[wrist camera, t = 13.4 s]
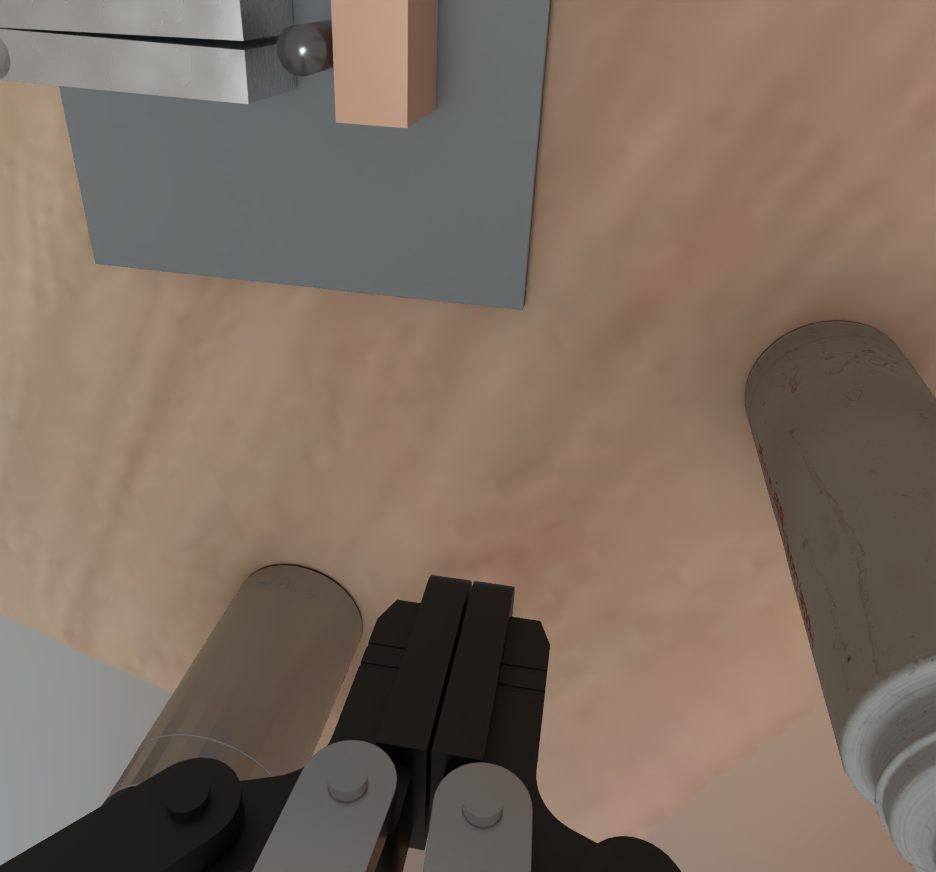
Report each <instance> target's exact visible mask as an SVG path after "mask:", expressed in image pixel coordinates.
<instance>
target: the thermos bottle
mask: <svg viewBox="0 0 936 872" xmlns="http://www.w3.org/2000/svg"><path fill="white" fill-rule="evenodd" d="M745 408H746V412H747V416H748V420H749V423H750V427H751V431H752V434H753V438H754V442H755V445H756V449H757V453H758V456H759V460H760V464H761V467H762V471H763V475H764V478H765V482H766V486H767V489H768V493H769V497H770V500H771V504H772V508H773V511H774V514H775V518H776V521H777V524H778V527H779V531H780V534H781V538H782V541H783V545H784V549H785V553H786V557H787V561H788V565H789V569H790V573H791V577H792V581H793V585H794V588H795V592H796V596H797V599H798V603H799V607H800V610H801V614H802V618H803V621H804V625H805V629H806V632H807V636H808V640H809V643H810V647H811V651H812V654H813V658H814V662H815V665H816V669H817V673H818V676H819V680H820V684H821V687H822V691H823V695H824V698H825V702H826V706H827V709H828V712H829V716H830V720H831V724H832V728H833V731H834V734H835V739H836V742H837V746H838V749H839V753H840V757H841V760H842V764H843V767H844V771H845V773H846V774H847V776H848V778H849V779H850V781H851V783H852V784H853V786H854V788H855V789H856V791H857V792H858V793H859V794H860V795H861V796H863V798H864V799H865V800H866V801H867V802H868V803H870V804H871V805H872V806H873V807H875V808H876V809H877V814H878V817H879V819H880V820H881V822H882V824H883V825H884V827H885V828H886V830H887V832H888V833H889V834H890V836H891V838H892V841H893V843H894V844H895V846H896V848H897V849H898V851H899V853H900V855H901V856H902V857H903V858H904V859H905V860H906V861H907V862H908V863H909V864H910V865H911V866H912V867H913V868H914V869H915V870H916V871H918V872H936V398H935V397H934V395H933V394H932V393H931V391H930V390H929V388H928V387H927V386H926V384H925V383H924V382H923V380H922V379H921V378H920V376H919V375H918V373H917V372H916V371H915V369H914V368H913V367H912V365H911V364H910V363H909V361H908V360H907V358H906V357H905V356H904V354H903V353H902V352H901V350H900V349H899V348H898V347H897V345H896V344H895V343H894V342H893V341H892V340H891V339H889V338H888V337H887V336H886V335H884V334H883V333H881V332H879V331H877V330H875V329H873V328H871V327H869V326H866V325H862V324H858V323H855V322H845V321H830V322H820V323H816V324H812V325H808V326H804V327H802V328H799V329H797V330H795V331H793V332H791V333H788V334H787V335H785V336H784V337H782V338H781V339H779V340H778V341H776V342H775V343H773V344H772V345H771V346H770V347H769V348H768V349H767V350H766V351H765V352H764V353H763V354H762V355H761V357H760V358H759V359H758V361H757V362H756V364H755V365H754V366H753V369H752V371H751V373H750V375H749V377H748V380H747V385H746V389H745Z"/></svg>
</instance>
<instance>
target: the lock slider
mask: <svg viewBox="0 0 936 872" xmlns="http://www.w3.org/2000/svg"><path fill="white" fill-rule="evenodd" d="M331 13H332V39H333V65H334V90H335V116H336V123H348V124H360V125H373V126H385V127H397V128H408V127H410V126H411V125H413V124H414V123H416V122H417V121H419V120H420V119H422V118H423V117H425V116H426V115H428V114H429V113H431V112H432V111H434V110H435V109H436V79H437V36H438V0H331Z"/></svg>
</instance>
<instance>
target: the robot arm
mask: <svg viewBox="0 0 936 872" xmlns="http://www.w3.org/2000/svg"><path fill="white" fill-rule="evenodd" d="M514 592H515V587H512V586H505V585H499V584H492V583H485V582H478V581H474V583H473V586H472V582H471V581H470V580H463V579H456V578H449V577H442V576H435V575H431V576H430V577H429V580H428V583H427V586H426V589H425V592H424V595H423V598H422V601H421V603H415V602H408V601H402V600H396V601H395V602H394V603H393V604H392V605H391V606H390V607H389V608H388V609H387V610H386V611H385V612H384V613H383V614H382V615H381V616H380V617H379V618H378V619H377V622H376V624H375V627H374V629H373V632H372V635H371V637H370V640H369V644H368V647H367V648H366V650H365V653H364V655H363V658H362V661H361V666H359V668H358V671H357V674H356V676H355V679H354V681H353V684H352V687H351V689H350V692H349V694H348V697H347V700H346V702H345V705H344V707H343V710H342V713H341V715H340V718H339V721H338V723H337V726H336V728H335V731H334V734H333V736H332V738H331V740H330V742H329V744H328V745H327V746H326V747H325V748H323V749H321V750H320V751H318V752H317V753H316V754H315V755H314V756H313V753H314V751H315V748H316V746H317V743H318V741H319V739H320V736H321V734H322V731H323V729H324V726H325V724H326V721H327V719H328V717H329V714H330V712H331V709H332V707H333V704H334V702H335V699H336V697H337V694H338V692H339V690H340V687H341V685H342V683H343V680H344V678H345V675H346V673H347V671H348V668H349V666H350V663H351V661H352V658H353V656H354V653H355V651H356V648H357V646H358V643H359V641H360V637H361V634H362V620H361V617H360V613H359V610H358V609H357V607H356V605H355V603H354V601H353V600H352V599H351V598H350V596H349V595H348V594H347V593H346V592H345V591H344V590H343V589H342V588H341V587H340V586H338V585H337V584H336V583H335V582H333V581H332V580H330V579H328V578H327V577H325V576H323V575H322V574H319V573H317V572H314V571H312V570H309V569H305V568H301V567H297V566H287V565H279V566H270V567H267V568H264V569H261V570H258V571H257V572H255V573H254V574H252V575H251V576H249V578H248V579H247V580H246V581H245V582H244V583H243V585H242V586H241V588H240V589H239V591H238V593H237V594H236V596H235V597H234V599H233V600H232V602H231V604H230V605H229V607H228V608H227V610H226V611H225V613H224V615H223V616H222V618H221V619H220V621H219V622H218V624H217V625H216V627H215V628H214V630H213V631H212V633H211V635H210V636H209V638H208V639H207V641H206V642H205V644H204V646H203V647H202V649H201V650H200V652H199V654H198V655H197V657H196V658H195V660H194V661H193V663H192V665H191V666H190V668H189V669H188V671H187V672H186V674H185V676H184V677H183V679H182V680H181V682H180V683H179V685H178V687H177V688H176V690H175V691H174V693H173V695H172V696H171V698H170V699H169V701H168V702H167V704H166V706H165V707H164V709H163V710H162V712H161V714H160V715H159V717H158V718H157V720H156V721H155V723H154V725H153V726H152V728H151V729H150V731H149V732H148V734H147V736H146V737H145V739H144V740H143V742H142V743H141V745H140V747H139V748H138V750H137V751H136V753H135V754H134V757H133V758H132V760H131V761H130V763H129V765H128V766H127V768H126V769H125V771H124V772H123V774H122V775H121V777H120V779H119V780H118V782H117V783H116V785H115V786H114V788H113V790H112V791H111V793H110V794H109V796H108V797H107V799H106V801H105V802H104V803H103V805H102V806H101V807H99V808H98V809H96V810H94V811H93V812H91V813H89V814H87V815H86V816H84V817H82V818H81V819H79V820H77V821H76V822H74V823H72V824H70V825H69V826H67V827H65V828H64V829H62V830H60V831H59V832H57V833H55V834H53V835H52V836H50V837H48V838H47V839H45V840H43V841H41V842H40V843H38V844H36V845H35V846H33V847H31V848H29V849H28V850H26V851H24V852H23V853H21V854H19V855H18V856H16V857H14V858H12V859H11V860H9V861H7V862H6V863H4V864H2V865H1V866H0V872H403V868H404V863H405V860H406V855H407V851H408V847H409V848H415V849H420V850H425V846H426V841H427V837H428V841H427V848H426V855H425V861H424V868H423V872H681V871H680V869H679V868H678V867H677V865H676V864H675V863H674V862H673V861H672V860H671V858H669V856H668V855H667V854H665V853H664V852H663V851H662V850H661V849H659V848H658V847H656V846H654V845H653V844H651V843H649V842H647V841H644V840H641V839H638V838H635V837H627V836H620V837H613V838H608V839H606V840H603V841H601V842H600V843H596V842H594V841H592V840H590V839H588V838H586V837H585V836H583V835H581V834H579V833H577V832H575V831H573V830H572V829H570V828H568V827H567V826H565V825H564V824H562V823H561V822H560V821H559V820H557V819H556V818H555V817H554V816H553V814H552V813H551V812H550V811H549V810H548V808H547V807H546V805H545V804H544V802H543V800H542V798H541V796H540V793H539V790H538V787H537V781H536V770H537V761H538V751H539V742H540V733H541V724H542V715H543V705H544V696H545V687H546V678H547V669H548V659H549V650H550V644H549V641H548V639H547V636H546V634H545V631H544V629H543V627H542V624H541V622H540V621H536V620H529V619H522V618H516V617H512V614H513V603H514ZM428 833H429V834H428Z"/></svg>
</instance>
